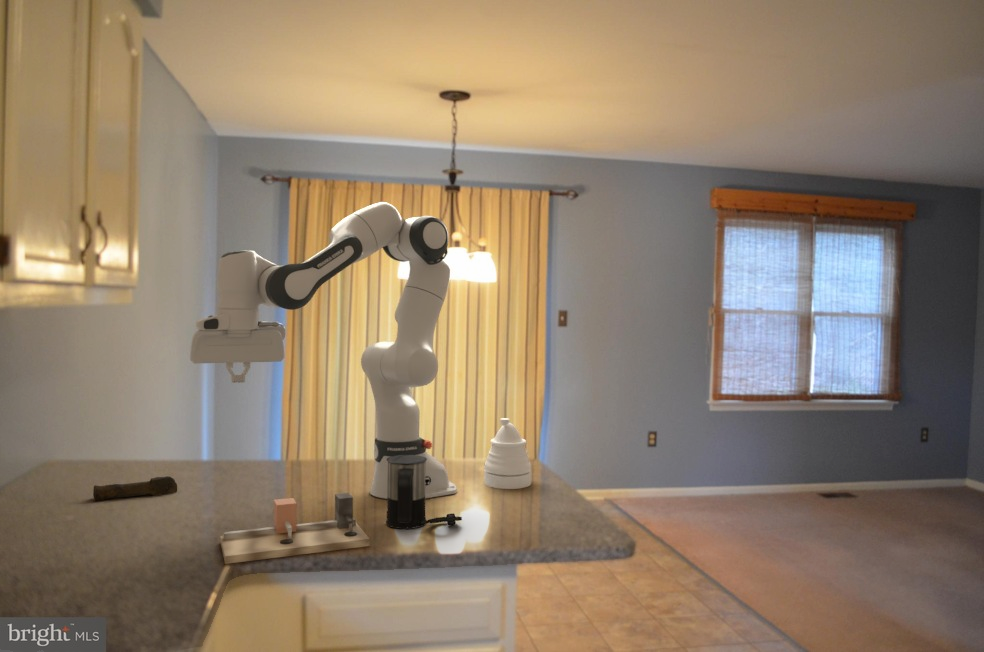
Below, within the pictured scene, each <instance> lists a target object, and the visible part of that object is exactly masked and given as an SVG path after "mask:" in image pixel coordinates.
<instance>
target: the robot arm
mask: <svg viewBox="0 0 984 652" xmlns="http://www.w3.org/2000/svg"><path fill="white" fill-rule="evenodd" d="M328 235H329V236H328V241H329V245H328V246H327V247H325V248H323V249H322V250H321V251H319V252H317V253H316V254H314V255H312V257H310V258H309V259H306V260H305V261H303V262H299V263H290V264H288V263H287V264H283V265H281V264H280V265H277V264H276V263H274V262H271V261H269V260H267V259H266V258H264V257H262V256H261V255H259V254H258V253H257V252H256V251H255V250H252V249H243V250H234V251H228V252H225V253H223V254H222V256H221V257H220V258H219V261H218V267H217V277H216V279H217V281H216V282H217V283H216V285H217V287H216V288H217V289H216V290H217V293H218V302H217V306H216V307H217V309H216V310H217V311H216V314H214V315H212V314H211V315H209V316H206V317H203V318H200V319H198V320H197V321H196V324H195V326H196V329H198V330H197V331H195V332H194V334H193V335H192V339H191V344H190V354H189V355H190V356H189V359H190V361H191V362H192V363H193V364H195V365H196V364H225V368H226V369H227V371H228V373H229V374H230V382H231V384H236V383H237V384H239V383H246V375H247V374H248V371H249V370H250V369H251V363H275V362H276V363H278V362H283V360H284V359H285V346H284V339H285V337H286V328H285V326H284V324H283V323H280V322H279V321H275V320H274V321H264V320H263V321H259V305H263V306H264V305H265V306H268V307H273V308H281V309H285V310H289V311H293V310H299V309H300V308H301V309H302V308H303V307H305V306H306V305H307V304H308V303H309V302H310V301H311V300H312V299H313V297H314V295H315V294H316V292H317V291H318V289H319V288H320V287H321V286H322V285H324V284H325V283H327V281H329V280H330V279H332V278H333V277H335V276H336V275H338V274H339V273H341V272H342V271H344V270H345V269H346V268H347V267H349V266H350V265H353V264H356V263H358V262H360V261H362V260H365V259H366V258H368V257H369V256H371V255H373V254H374V253H376V252H378V251H379V250H381V249H382V250H383V251H384V252H385V254H386V255H387V256H388V257H389V258H390V259H392V260H394V261H396V262H397V261H398V262H403V263H404V262H409V263H408V264H409V274H408V278H407V280H406V283H405V285H404V286H403V287H404V288H403V289H402V292H401V295H400V299H399V300H398V303H397V307H396V309H395V312H394V320H395V321H396V323H397V332H396V333H397V334H396V339H395V341H388V340H384V341H379V342H375V343H372V344H370V345H368V346H367V347H366V348H365V349H364V351H363V352H362V355H361V358H360V366H361V369H362V371H363V372H364V375H366V377H367V378H368V382H369V385H370V388H371V391H372V394H373V400H374V405H375V416H376V417H375V418H376V420H375V421H376V424H375V425H376V437H375V439H374V444H373V445H374V446H373V448H374V451H373V453H374V454H373V455H374V461H375V462H374V463H375V464H374V472H373V479H372V483H371V486H370V490H369V495H372V496H373V497H376V498H380V499H385V500H387V481H388V461H387V460H386V459H387V458H388V457H391V456H397V455H418V456H423V457H426V458H427V460H426V470H425V499H429V498H430V499H431V498H435V497H441V496H442V497H443V496H448V495H453V494H455V495H456V493H457V492H458V490H457V489H458V488H457V486H456V484H455V483H454V482H452V481H451V480H449V476H448V475H449V474H448V470H447V469H446V466H445V465H444V464H443V463H442V462H440V461H439V460H438V459H437V458H436V457H434V456H433V455H431V454H430V453H428V451H427V450H430V449H432V448H433V442H432V441H430V440H428V439H425V438H422V437H420V417H421V416H420V407H419V405H418V403H417V402H416V401H415V398H414V397H413V395H412V392H411V388H417V387H423V386H425V387H426V386H428V385H430V384H431V383H432V382H433V381H434V379H435V378H436V376H437V374H438V371H439V362H438V358H437V355H436V354H435V351H434V336H435V335H434V334H435V329H436V326H437V322H438V320H439V317H440V313H441V311H442V308H443V305H444V302H445V299H446V296H447V293H448V290H449V285H450V280H451V275H452V271H451V270H452V269H451V266H450V264H449V263H448V261H446V260H445V258H446V257H447V255H448V246H449V240H450V239H449V231H448V228H447V226H446V224H445V222H443V221H442V219H439V218H438V217H435V216H431V215H423V216H417V217H409V218H407V219H404V218H402V216H401V215H400V212H399V211H398V209H397V208H396V207H395V206H394V205H393V204H390V203H389V202H384V201H380V202H376V203H373V204H371V205H368V206H365V207H363V208H361V209H359V210H357V211H354V212H352V214H349V215H348V216H346V217H344V218H342V220H340V221H339V222H338V223H336V224H335V226H333V227H332V228H331V229H330V231H329V234H328ZM236 363H237V364H239V363H242V366H243V368H244V369H243V370H242V372H241V373H239V374H238V373H234V372H233V370H232V368H234V364H236Z"/></svg>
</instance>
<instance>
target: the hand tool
mask: <svg viewBox="0 0 984 652" xmlns="http://www.w3.org/2000/svg"><path fill="white" fill-rule="evenodd" d="M177 492H178V484H177V482H176V480H175V478H173V477H171V476H157V477H152V478H150V480H149V481H140V482H131V483H114V484H105V485H93V494H92V495H93V496H92V498H93V500H94V502H97V501H98V500H99V501H100V500H101V501H103V500H106V499H113V498H115V499H116V498H123V497H125V498H126V497H133V496H142V495H150V496H152V497H154V496H155V497H156V495H157V496H162V495H164V494H165V495H169V494H170V495H171V494H175V493H177Z"/></svg>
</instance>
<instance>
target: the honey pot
mask: <svg viewBox="0 0 984 652" xmlns="http://www.w3.org/2000/svg"><path fill="white" fill-rule="evenodd" d="M499 419H500V420H499V421H500V424H501V427H500V428H499V429H498V431H497V433H496V434H495V436H494V438H491V439H490V442H489V443H490V444H491V447H490V449H489V450H488V455H487V457H486V461H485V463H484V471H483V472H484V473H483V475H484V479H483V480H484V481H483V484H484V485H485V486H488V487H489V488H494V489H500V490H502V489H503V490H516V489H517V490H518V489H523V488H527V487H529V486H531V485H532V463H531V462H530V457H529V455H528V454H529V452H528V451H527V449H526V445H527V440H526V439H524V438H523V437H522V436H521V433H520V431H519V430H518V428H517V427H516V426H515V425H514V424H513V423H511V422H510V421H511V419H510V418H507V417H506V418H505V417H502V418H499Z"/></svg>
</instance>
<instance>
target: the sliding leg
mask: <svg viewBox="0 0 984 652" xmlns="http://www.w3.org/2000/svg"><path fill="white" fill-rule="evenodd" d="M297 506H298V505H297V502H296V500H295V498H294V497H289V498H288V497H287V498H279V499H278V498H277V499H273V525H274V526H273V527H276V533H285V532H288V539H291V538H292V532H294V531H296V527H297V518H298V517H297V514H298V513H297Z"/></svg>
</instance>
